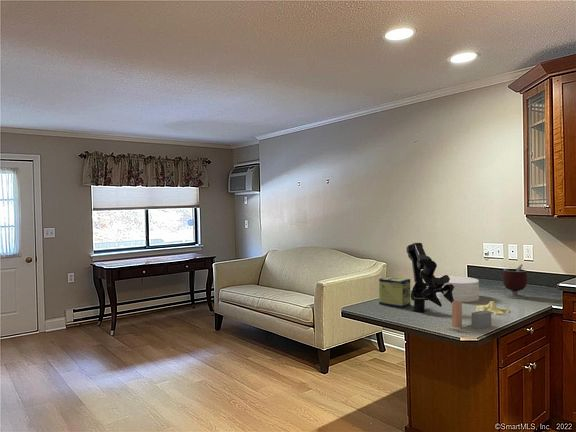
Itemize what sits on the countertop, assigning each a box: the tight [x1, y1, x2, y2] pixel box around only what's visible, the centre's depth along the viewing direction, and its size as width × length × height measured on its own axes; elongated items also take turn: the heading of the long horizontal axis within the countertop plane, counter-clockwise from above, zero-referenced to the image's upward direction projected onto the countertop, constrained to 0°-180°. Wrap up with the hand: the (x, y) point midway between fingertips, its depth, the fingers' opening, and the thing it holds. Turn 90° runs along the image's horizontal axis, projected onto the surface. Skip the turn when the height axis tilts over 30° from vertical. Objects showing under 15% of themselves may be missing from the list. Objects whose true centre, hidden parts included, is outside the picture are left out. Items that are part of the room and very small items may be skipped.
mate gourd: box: [502, 264, 528, 300], centre depth 278 cm, size 16×14×20 cm
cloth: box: [475, 300, 510, 316], centre depth 242 cm, size 22×19×6 cm
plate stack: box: [436, 275, 480, 303], centre depth 280 cm, size 28×28×12 cm
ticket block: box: [457, 310, 492, 330], centre depth 210 cm, size 6×17×7 cm, turn 120°
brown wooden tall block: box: [451, 301, 463, 328], centre depth 211 cm, size 2×4×12 cm, turn 120°
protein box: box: [378, 276, 412, 309], centre depth 260 cm, size 10×16×16 cm
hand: (447, 304), depth 216 cm, fingers open, 9 cm apart
